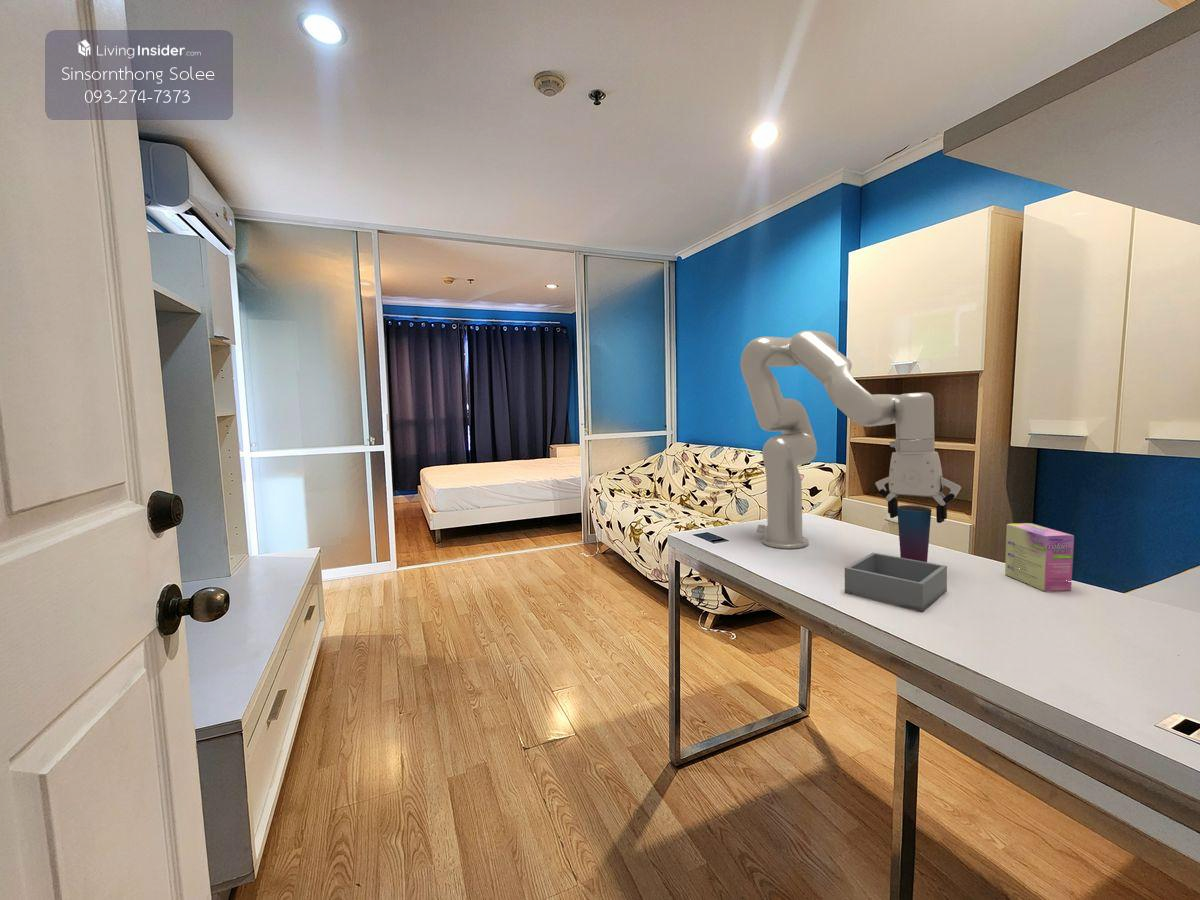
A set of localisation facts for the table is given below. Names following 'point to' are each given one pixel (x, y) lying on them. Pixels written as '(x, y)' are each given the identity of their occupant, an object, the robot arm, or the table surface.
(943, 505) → the robot arm
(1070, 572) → the box
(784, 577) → the table surface
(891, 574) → the box
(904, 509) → the cup
